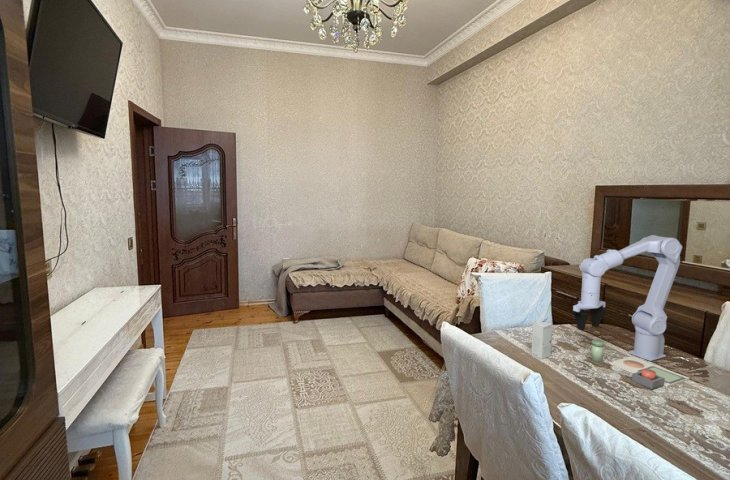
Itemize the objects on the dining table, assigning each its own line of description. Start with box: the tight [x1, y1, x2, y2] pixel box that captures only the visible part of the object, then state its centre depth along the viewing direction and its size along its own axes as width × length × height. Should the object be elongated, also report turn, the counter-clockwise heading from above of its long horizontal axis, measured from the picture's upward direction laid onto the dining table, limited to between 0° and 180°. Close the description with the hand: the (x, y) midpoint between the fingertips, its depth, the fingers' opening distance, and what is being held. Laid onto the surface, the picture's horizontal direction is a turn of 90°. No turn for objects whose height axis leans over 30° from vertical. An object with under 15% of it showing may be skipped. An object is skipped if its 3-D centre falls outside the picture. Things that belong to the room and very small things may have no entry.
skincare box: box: [531, 320, 553, 360], centre depth 140 cm, size 6×4×12 cm
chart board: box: [609, 356, 690, 388], centre depth 129 cm, size 12×18×1 cm, turn 25°
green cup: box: [590, 338, 605, 363], centre depth 137 cm, size 4×4×7 cm
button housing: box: [631, 371, 665, 391], centre depth 120 cm, size 6×6×2 cm
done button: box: [641, 369, 656, 380], centre depth 120 cm, size 4×4×2 cm
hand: (587, 328), depth 140 cm, fingers open, 7 cm apart
